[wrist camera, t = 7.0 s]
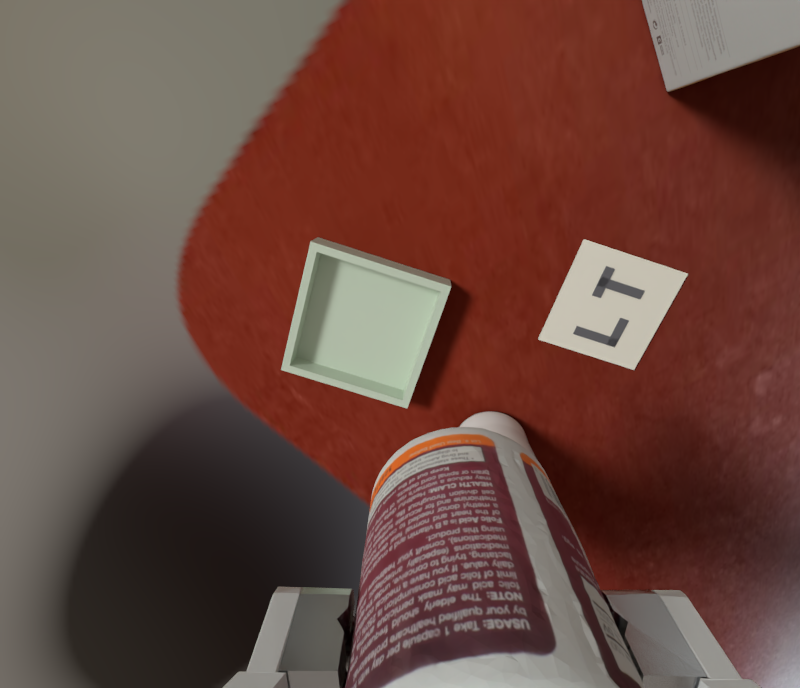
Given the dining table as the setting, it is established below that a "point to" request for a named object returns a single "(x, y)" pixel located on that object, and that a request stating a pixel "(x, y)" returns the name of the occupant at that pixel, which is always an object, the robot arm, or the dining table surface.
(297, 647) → the robot arm
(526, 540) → the pill bottle
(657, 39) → the small box
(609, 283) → the coaster
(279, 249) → the dining table surface
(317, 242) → the sage tray
